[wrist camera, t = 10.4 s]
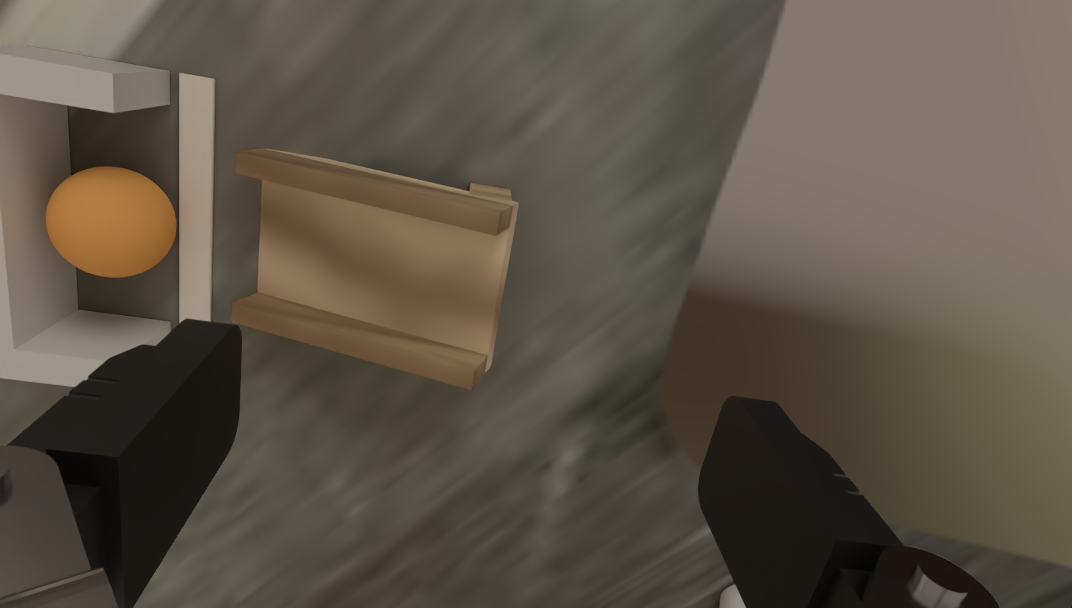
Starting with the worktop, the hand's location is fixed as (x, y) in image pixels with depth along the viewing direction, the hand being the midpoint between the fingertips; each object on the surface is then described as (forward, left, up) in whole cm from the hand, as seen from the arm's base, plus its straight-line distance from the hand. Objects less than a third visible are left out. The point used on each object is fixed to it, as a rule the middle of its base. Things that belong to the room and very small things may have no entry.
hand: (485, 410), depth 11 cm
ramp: (+5, -5, -24) cm, 25 cm away
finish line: (+5, -14, -24) cm, 28 cm away
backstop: (+5, -18, -24) cm, 30 cm away
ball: (+5, -16, -21) cm, 27 cm away
